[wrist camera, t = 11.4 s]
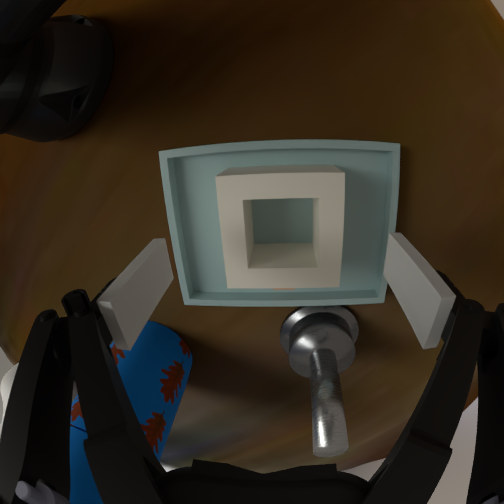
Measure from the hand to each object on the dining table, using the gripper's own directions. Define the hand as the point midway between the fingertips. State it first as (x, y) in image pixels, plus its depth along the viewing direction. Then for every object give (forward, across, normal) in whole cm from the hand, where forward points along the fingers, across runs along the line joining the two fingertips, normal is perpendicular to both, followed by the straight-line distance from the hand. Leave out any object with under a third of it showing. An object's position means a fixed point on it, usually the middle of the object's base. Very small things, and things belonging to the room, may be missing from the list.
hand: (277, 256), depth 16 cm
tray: (+10, 0, -2) cm, 10 cm away
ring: (+10, 0, -1) cm, 10 cm away
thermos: (+10, -17, -19) cm, 27 cm away
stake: (+10, +4, -15) cm, 18 cm away
